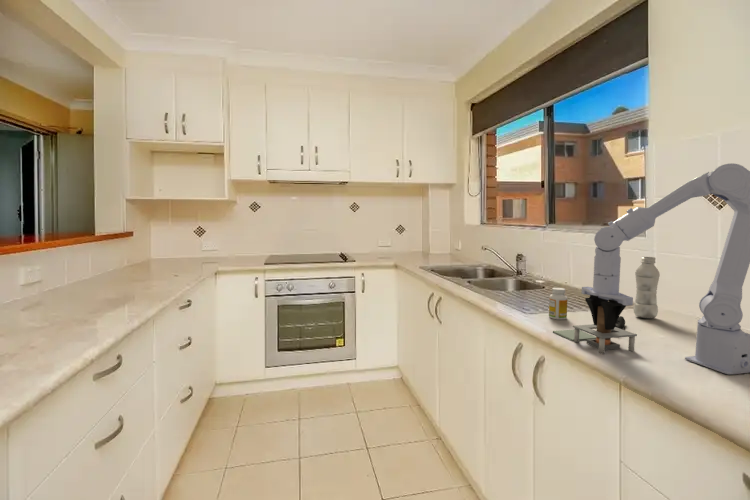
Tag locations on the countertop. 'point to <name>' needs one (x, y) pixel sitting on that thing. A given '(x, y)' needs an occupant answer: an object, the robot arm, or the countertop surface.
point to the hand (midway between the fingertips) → (603, 327)
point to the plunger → (607, 342)
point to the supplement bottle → (558, 304)
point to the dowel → (601, 322)
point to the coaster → (570, 335)
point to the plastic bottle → (646, 289)
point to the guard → (602, 337)
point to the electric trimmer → (620, 323)
